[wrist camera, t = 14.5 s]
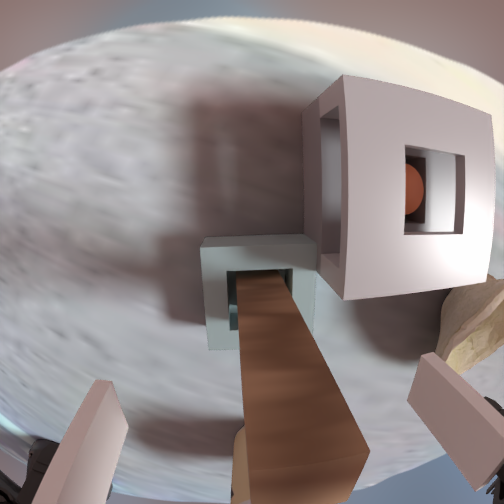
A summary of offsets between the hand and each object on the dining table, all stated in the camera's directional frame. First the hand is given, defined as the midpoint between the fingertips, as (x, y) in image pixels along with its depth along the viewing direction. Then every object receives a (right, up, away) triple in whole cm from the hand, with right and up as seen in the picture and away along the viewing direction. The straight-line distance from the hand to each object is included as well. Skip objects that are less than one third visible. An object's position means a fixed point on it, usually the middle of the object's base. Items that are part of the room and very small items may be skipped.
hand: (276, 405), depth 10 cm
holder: (-1, +3, +14) cm, 15 cm away
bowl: (+22, 0, +17) cm, 28 cm away
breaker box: (+9, +12, +13) cm, 20 cm away
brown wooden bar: (-1, +3, +13) cm, 14 cm away
